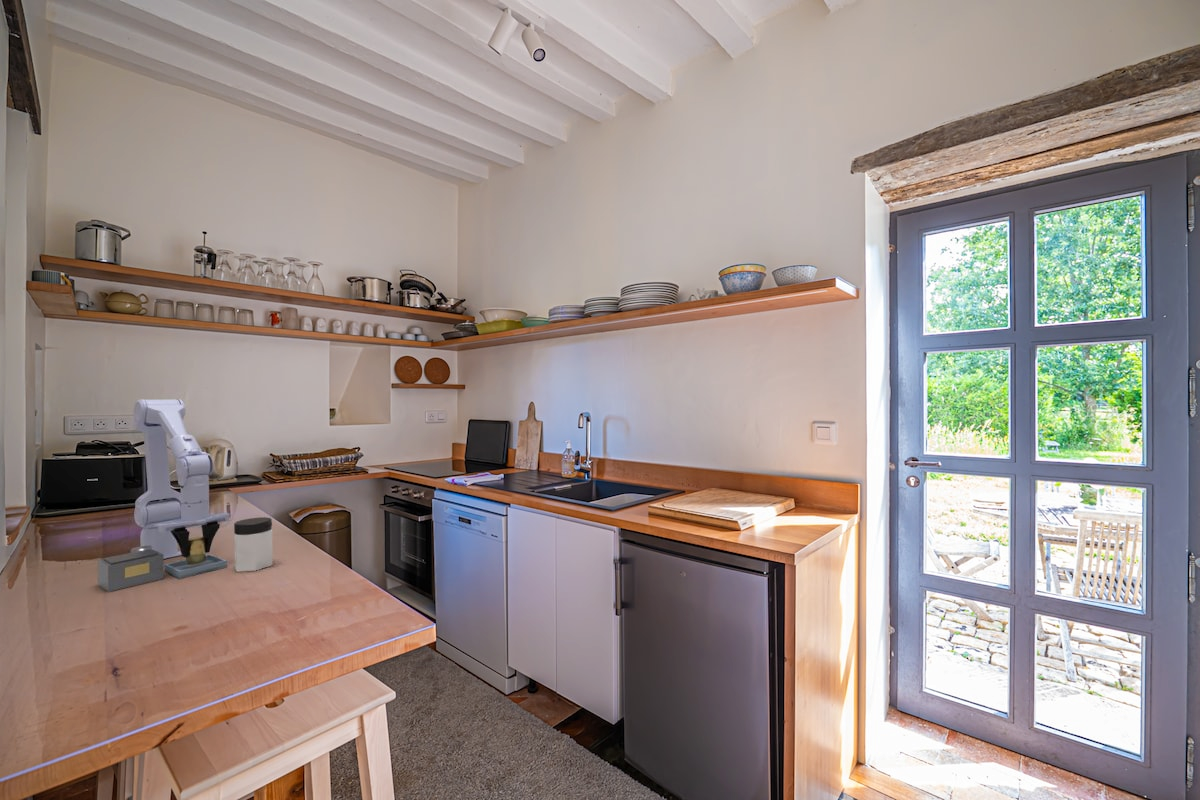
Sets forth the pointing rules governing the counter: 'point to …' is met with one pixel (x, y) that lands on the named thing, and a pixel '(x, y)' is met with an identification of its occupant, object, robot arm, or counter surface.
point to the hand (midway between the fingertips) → (195, 554)
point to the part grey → (140, 548)
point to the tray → (194, 567)
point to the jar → (253, 544)
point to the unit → (130, 569)
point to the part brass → (196, 551)
